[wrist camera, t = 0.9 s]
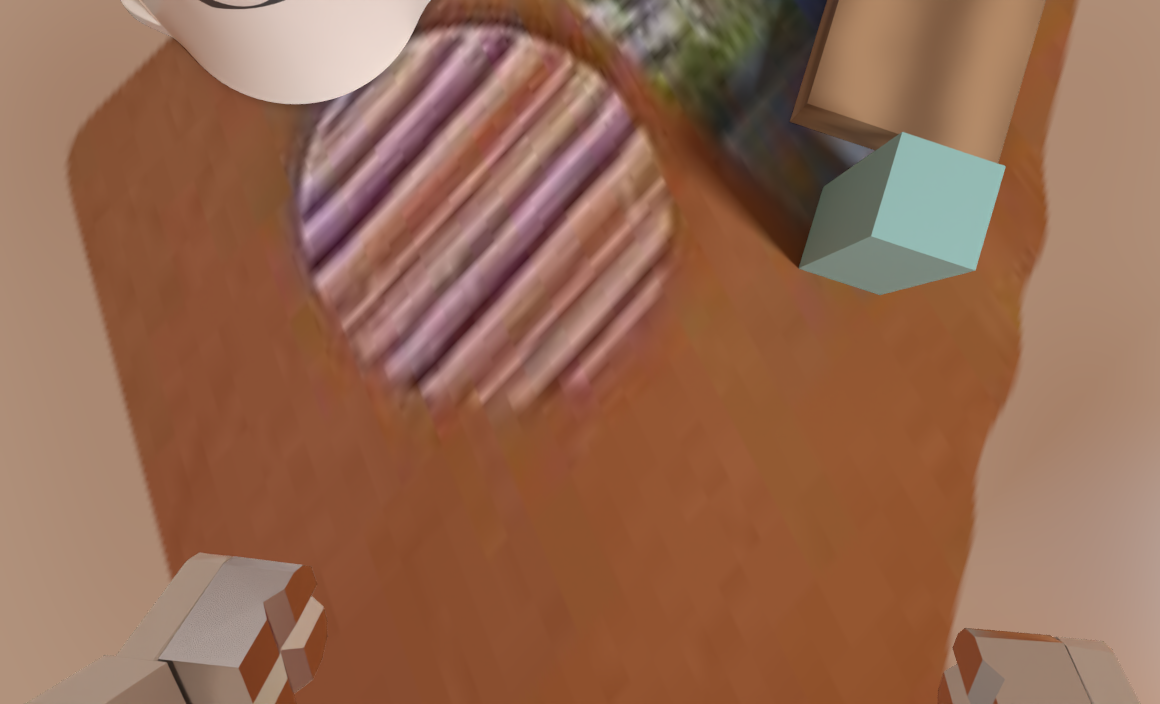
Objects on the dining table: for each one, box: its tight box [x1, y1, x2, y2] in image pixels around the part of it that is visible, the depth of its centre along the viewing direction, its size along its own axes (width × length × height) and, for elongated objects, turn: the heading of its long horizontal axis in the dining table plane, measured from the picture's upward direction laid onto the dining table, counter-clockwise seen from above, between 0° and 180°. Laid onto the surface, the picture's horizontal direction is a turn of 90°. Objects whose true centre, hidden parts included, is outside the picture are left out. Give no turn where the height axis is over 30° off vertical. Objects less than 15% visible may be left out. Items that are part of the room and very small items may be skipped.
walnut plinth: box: [790, 0, 1046, 164], centre depth 44 cm, size 11×11×3 cm
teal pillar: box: [799, 132, 1006, 295], centre depth 40 cm, size 5×5×10 cm
